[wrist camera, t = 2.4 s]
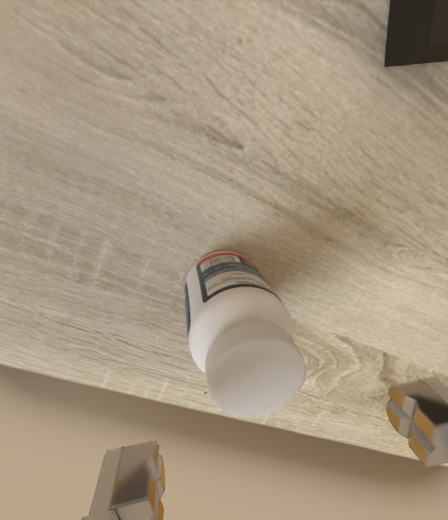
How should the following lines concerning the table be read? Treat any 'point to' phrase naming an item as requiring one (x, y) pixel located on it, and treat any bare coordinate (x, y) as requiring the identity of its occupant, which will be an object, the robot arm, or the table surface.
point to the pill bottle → (241, 336)
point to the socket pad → (417, 32)
